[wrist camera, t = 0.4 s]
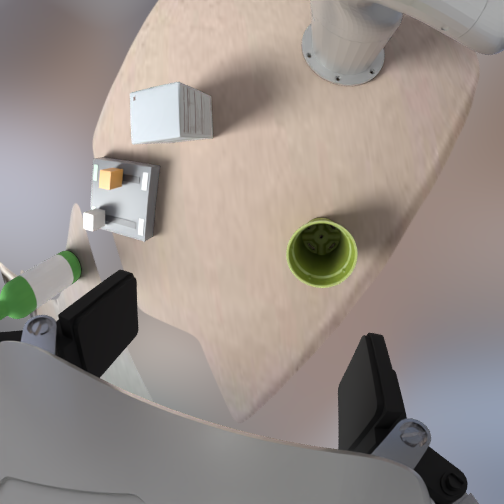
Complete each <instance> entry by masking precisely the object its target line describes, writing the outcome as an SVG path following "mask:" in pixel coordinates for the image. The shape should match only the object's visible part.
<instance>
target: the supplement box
mask: <svg viewBox="0 0 504 504" xmlns="http://www.w3.org/2000/svg"><path fill="white" fill-rule="evenodd" d="M130 116H131V138H132V144H148V143H175V142H182V141H191V140H200V139H213V125H212V100H211V96H210V95H208V94H205V93H203V92H201V91H199V90H197V89H194V88H192V87H190V86H188V85H185V84H183V83H180V82H175V83H170V84H165V85H161V86H156V87H151V88H148V89H144V90H140V91H136V92H132V93H130Z"/></svg>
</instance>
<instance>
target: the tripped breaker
mask: <svg viewBox="0 0 504 504" xmlns="http://www.w3.org/2000/svg"><path fill="white" fill-rule="evenodd" d="M122 178H123V169H119V168H108V169H102V170H100V178H99V188H102V189H107V190H111V189H115V188H118V187H122Z"/></svg>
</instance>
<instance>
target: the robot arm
mask: <svg viewBox="0 0 504 504" xmlns="http://www.w3.org/2000/svg"><path fill="white" fill-rule="evenodd" d="M310 5H311V24H310V25H309V26H308V27H307V29H306V30H305V32H304V35H303V38H302V52H303V56H304V58H305V60H306V62H307V64H308V65H309V67H310V68H311V69H312V70H313V71H314V72H315V73H316V74H317V75H318V76H320V77H321V78H323V79H324V80H326V81H329V82H331V83H334V84H337V85H343V86H356V85H361V84H364V83H366V82H368V81H370V80H371V79H373V78H374V77H375V76H376V75H377V74H378V73H379V71H380V70H381V68H382V66H383V63H384V57H385V54H384V46H385V45H386V44H387V42H388V41H389V39H390V38H391V37H392V35H393V34H394V32H395V31H396V29H397V28H398V27H399V25H400V23H401V21H402V17H403V13H404V14H406V15H408V16H410V17H412V18H414V19H416V20H418V21H420V22H422V23H424V24H426V25H428V26H430V27H432V28H434V29H436V30H438V31H439V32H441V33H443V34H445V35H446V36H448V37H450V38H452V39H453V40H455V41H457V42H458V43H460V44H462V45H464V46H465V47H467V48H469V49H471V50H473V51H475V52H478V53H481V54H485V55H493V54H497V53H499V52H501V51H503V50H504V0H310ZM308 56H311V58H308ZM370 71H371V72H373V74H371V73H370ZM337 78H338V79H339V81H337V80H336V79H337ZM137 314H138V313H137V282H136V278H134V276H133V274H132V273H130V272H127V271H124V270H118V271H117V272H116V273H114V274H113V275H111V276H110V277H109V278H107V279H106V280H104V281H103V282H102V283H100V284H99V285H97V286H96V287H95V288H93V289H92V290H91V291H89V292H88V293H86V294H85V295H84V296H82V297H81V298H80V299H78V300H77V301H76V302H74V303H73V304H72V305H70V306H69V307H68V308H66V309H65V310H64V311H63V312H61V313H60V314H59V315H58V317H59V320H58V321H55V319H54V318H52V317H50V316H47V315H38V316H35V317H32V318H30V319H29V320H28V321H27V322H26V323H25V325H24V328H23V330H22V331H11V332H0V504H479V503H478V502H477V500H476V499H475V498H474V496H473V495H472V494H471V493H470V494H469V495H468V494H467V493H466V490H467V479H466V477H465V475H464V474H463V473H462V472H461V471H460V470H459V469H458V468H456V467H455V466H454V465H452V464H451V463H450V462H449V461H447V460H446V459H445V458H443V457H442V456H440V455H439V454H438V453H437V452H435V451H434V450H433V449H432V448H430V447H429V444H430V442H431V434H430V431H429V429H428V428H427V426H426V425H424V424H423V423H422V422H420V421H418V420H415V419H412V418H410V419H407V417H406V412H405V408H404V403H403V399H402V395H401V391H400V387H399V383H398V379H397V375H396V372H395V371H394V370H393V369H392V366H391V362H390V358H389V355H388V351H387V347H386V344H385V341H384V337H383V336H382V335H379V334H374V333H368V334H367V336H365V335H364V336H362V338H361V340H360V342H359V345H358V347H357V349H356V351H355V353H354V355H353V357H352V360H351V362H350V364H349V366H348V368H347V370H346V372H345V374H344V376H343V378H342V380H341V382H340V384H339V388H338V407H339V408H338V410H339V411H338V412H339V449H331V448H324V447H317V446H311V445H305V444H300V443H294V442H288V441H283V440H278V439H273V438H269V437H264V436H260V435H255V434H251V433H247V432H243V431H240V430H235V429H232V428H228V427H225V426H221V425H218V424H215V423H211V422H208V421H204V420H201V419H198V418H195V417H192V416H189V415H187V414H184V413H181V412H178V411H175V410H172V409H170V408H167V407H164V406H162V405H159V404H157V403H154V402H152V401H149V400H147V399H144V398H142V397H140V396H137V395H135V394H133V393H130V392H128V391H126V390H123V389H121V388H119V387H117V386H115V385H113V384H111V383H108V382H106V381H104V380H102V379H100V377H101V376H102V375H103V374H104V372H105V371H106V370H107V369H108V368H109V367H110V365H111V364H112V363H113V362H114V361H115V360H116V358H117V357H118V356H119V355H120V354H121V353H122V352H123V350H124V349H125V348H126V347H127V346H128V345H129V344H130V342H131V341H132V340H133V339H134V338H135V337H136V335H137V333H138V315H137Z"/></svg>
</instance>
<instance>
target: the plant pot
mask: <svg viewBox="0 0 504 504" xmlns="http://www.w3.org/2000/svg"><path fill="white" fill-rule="evenodd" d="M313 224H314V225H313ZM329 224H330V225H333V226H334V228H335V229H333V228H332V227H331V226H330V225H329ZM311 225H313V226H312V227H311V228H310V229H309V230H308V229H307V228H308V227H309V226H311ZM321 235H322V236H323V238H320V236H321ZM308 243H310V244H311V246H312V247H314V248H315V249H311V248H310V247H309V245H308ZM333 243H335V245H334V246H333V247H332V248H331V249H329V247H330V246H332V244H333ZM357 255H358V252H357V245H356V243H355V240H354V238H353V237H352V235H351V234H350V233H349V231H348V230H346V229H345V228H344V227H343V226H341V225H339V224H337V223H335V222H333V221H332V220H330V219H327V218H315V219H313V220H311V221H309V222H308V223H307V224H305V225H303V226H302V227H300V228H299V229H298V230H297V231H296V232H295V233H294V234H293V235H292V237H291V239H290V240H289V243H288V246H287V251H286V258H287V263H288V266H289V268H290V270H291V272H292V273H293V274H294V276H295V277H296V278H297V279H299V280H300V281H301V282H303V283H305V284H307V285H309V286H312V287H317V288H328V287H332V286H335V285H338V284H340V283H341V282H343V281H344V280H346V279H347V278H348V277H349V276H350V274H351V273H352V272H353V270H354V268H355V265H356V262H357Z"/></svg>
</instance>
